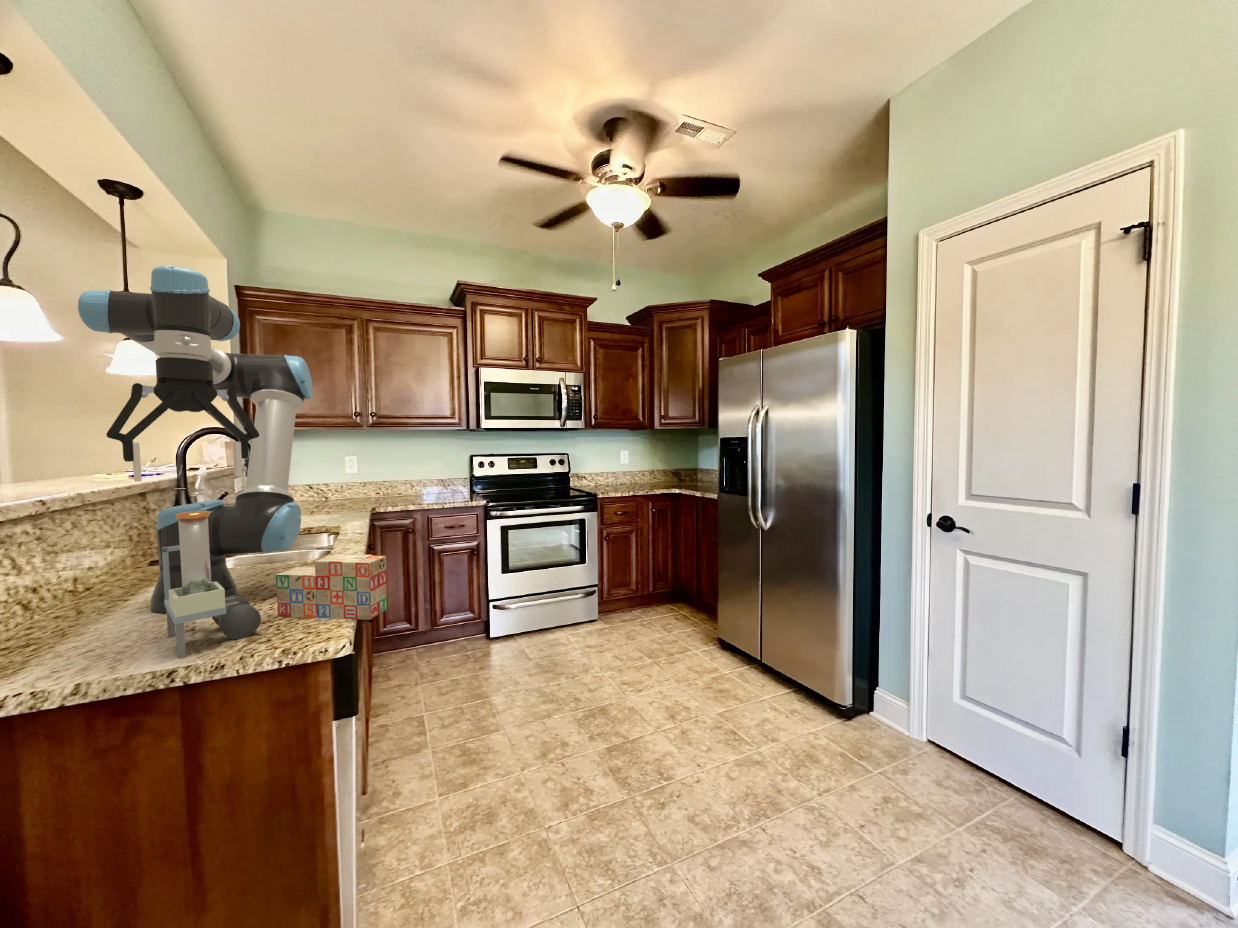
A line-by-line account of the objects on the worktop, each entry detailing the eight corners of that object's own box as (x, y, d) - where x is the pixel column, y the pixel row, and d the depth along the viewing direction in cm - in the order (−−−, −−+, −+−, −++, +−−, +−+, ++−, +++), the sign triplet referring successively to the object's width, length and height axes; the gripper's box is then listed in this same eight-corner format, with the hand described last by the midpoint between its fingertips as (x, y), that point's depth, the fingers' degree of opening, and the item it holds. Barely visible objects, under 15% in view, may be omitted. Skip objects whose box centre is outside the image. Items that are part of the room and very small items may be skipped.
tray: (169, 607, 88) (168, 589, 88) (217, 598, 93) (216, 581, 93) (175, 617, 83) (173, 598, 83) (225, 607, 88) (224, 589, 88)
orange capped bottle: (179, 604, 88) (174, 513, 87) (212, 598, 91) (207, 510, 91) (183, 610, 85) (177, 515, 84) (216, 603, 88) (211, 512, 88)
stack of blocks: (276, 617, 103) (273, 560, 103) (298, 607, 109) (296, 553, 109) (371, 620, 101) (369, 561, 100) (388, 609, 107) (386, 554, 107)
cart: (166, 635, 93) (161, 547, 93) (246, 617, 103) (242, 537, 102) (176, 658, 83) (170, 559, 83) (264, 636, 93) (260, 547, 92)
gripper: (79, 346, 74) (88, 484, 75) (274, 364, 93) (279, 475, 94) (79, 353, 79) (88, 482, 80) (264, 368, 98) (269, 473, 99)
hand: (191, 478), depth 87 cm, fingers open, 13 cm apart
